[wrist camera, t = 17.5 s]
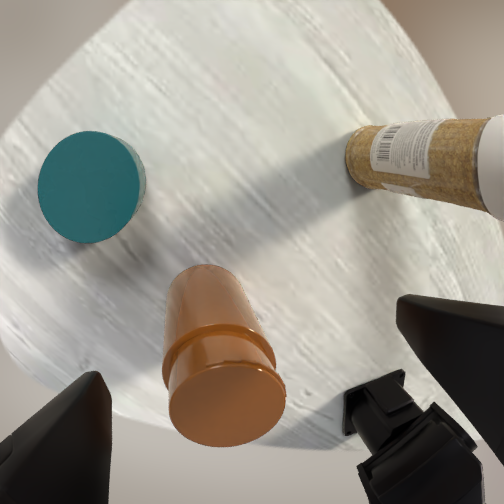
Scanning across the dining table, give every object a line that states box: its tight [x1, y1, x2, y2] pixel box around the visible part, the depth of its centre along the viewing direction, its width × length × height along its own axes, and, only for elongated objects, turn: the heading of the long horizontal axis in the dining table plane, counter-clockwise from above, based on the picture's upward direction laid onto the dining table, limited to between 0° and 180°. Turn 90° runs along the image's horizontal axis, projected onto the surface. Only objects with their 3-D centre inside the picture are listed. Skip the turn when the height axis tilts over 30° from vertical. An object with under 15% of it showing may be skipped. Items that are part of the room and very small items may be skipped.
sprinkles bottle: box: [346, 115, 504, 221], centre depth 15 cm, size 5×5×13 cm
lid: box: [38, 131, 146, 243], centre depth 17 cm, size 6×6×3 cm
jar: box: [162, 265, 286, 447], centre depth 16 cm, size 5×5×11 cm
